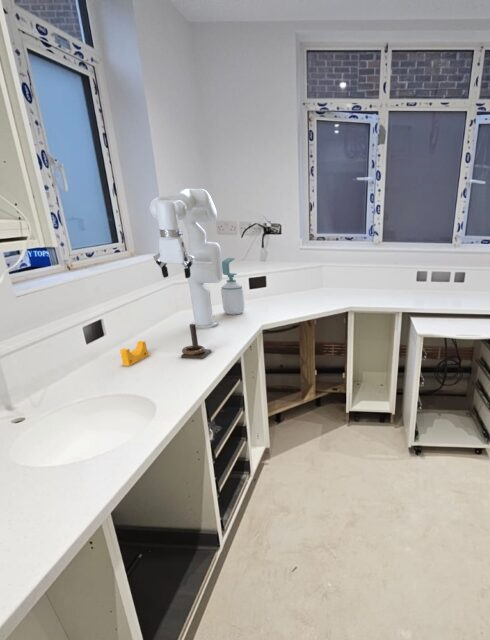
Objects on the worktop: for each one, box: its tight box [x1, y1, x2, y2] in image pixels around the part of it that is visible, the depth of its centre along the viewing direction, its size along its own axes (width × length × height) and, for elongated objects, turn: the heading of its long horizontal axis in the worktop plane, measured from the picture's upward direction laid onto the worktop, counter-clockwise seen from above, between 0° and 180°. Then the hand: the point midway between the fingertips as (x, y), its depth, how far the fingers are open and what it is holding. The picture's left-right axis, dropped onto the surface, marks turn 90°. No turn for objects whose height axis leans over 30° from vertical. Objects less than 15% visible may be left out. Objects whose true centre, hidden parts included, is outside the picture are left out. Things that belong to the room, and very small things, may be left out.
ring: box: [181, 344, 206, 355], centre depth 169 cm, size 9×9×2 cm
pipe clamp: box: [119, 340, 149, 367], centre depth 162 cm, size 12×4×6 cm, turn 168°
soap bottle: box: [220, 257, 245, 316], centre depth 232 cm, size 12×12×31 cm
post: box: [180, 323, 212, 360], centre depth 167 cm, size 9×9×13 cm
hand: (176, 277), depth 169 cm, fingers open, 9 cm apart
